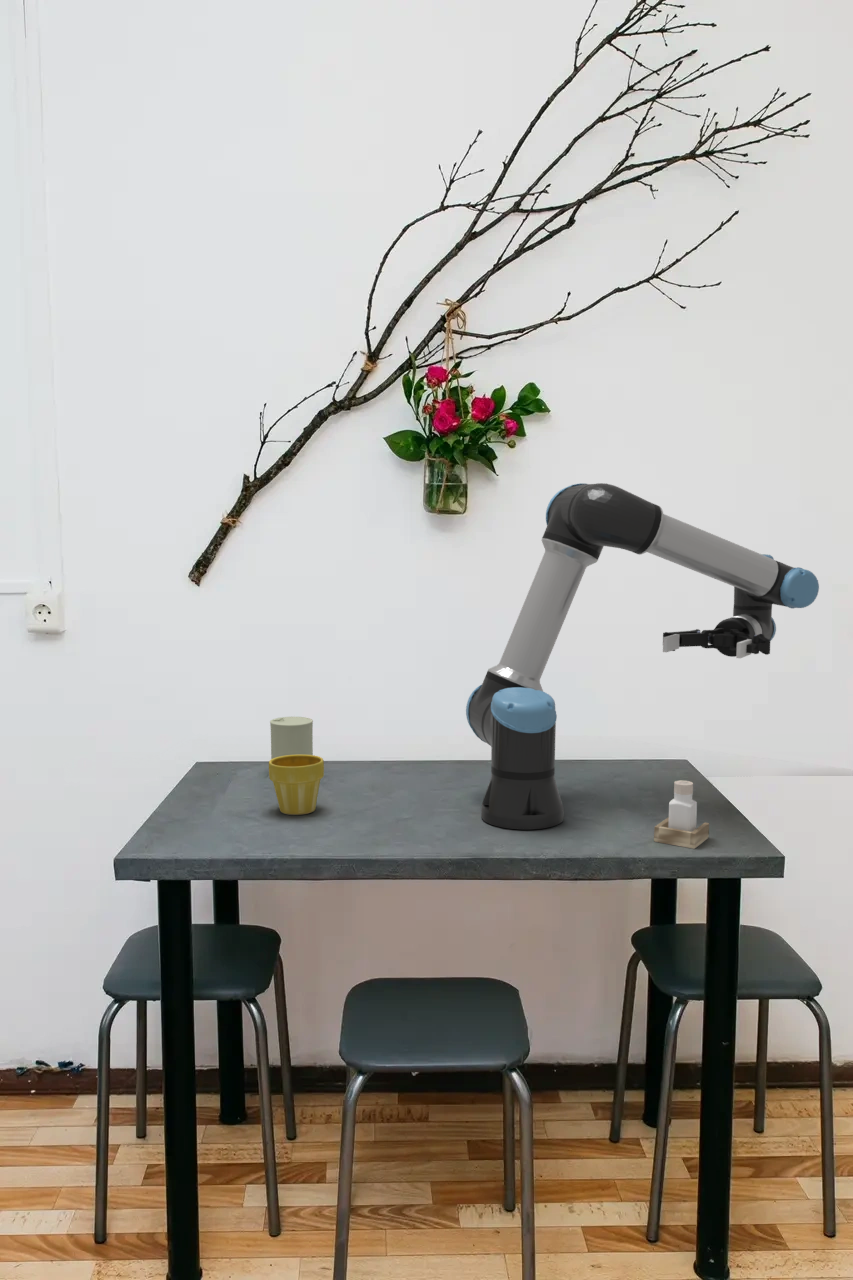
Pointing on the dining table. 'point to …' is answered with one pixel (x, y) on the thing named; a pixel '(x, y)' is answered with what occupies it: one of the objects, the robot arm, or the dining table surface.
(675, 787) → the pepper shaker
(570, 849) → the dining table surface
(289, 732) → the can
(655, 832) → the tray
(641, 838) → the dining table surface
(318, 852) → the dining table surface
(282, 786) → the plant pot
